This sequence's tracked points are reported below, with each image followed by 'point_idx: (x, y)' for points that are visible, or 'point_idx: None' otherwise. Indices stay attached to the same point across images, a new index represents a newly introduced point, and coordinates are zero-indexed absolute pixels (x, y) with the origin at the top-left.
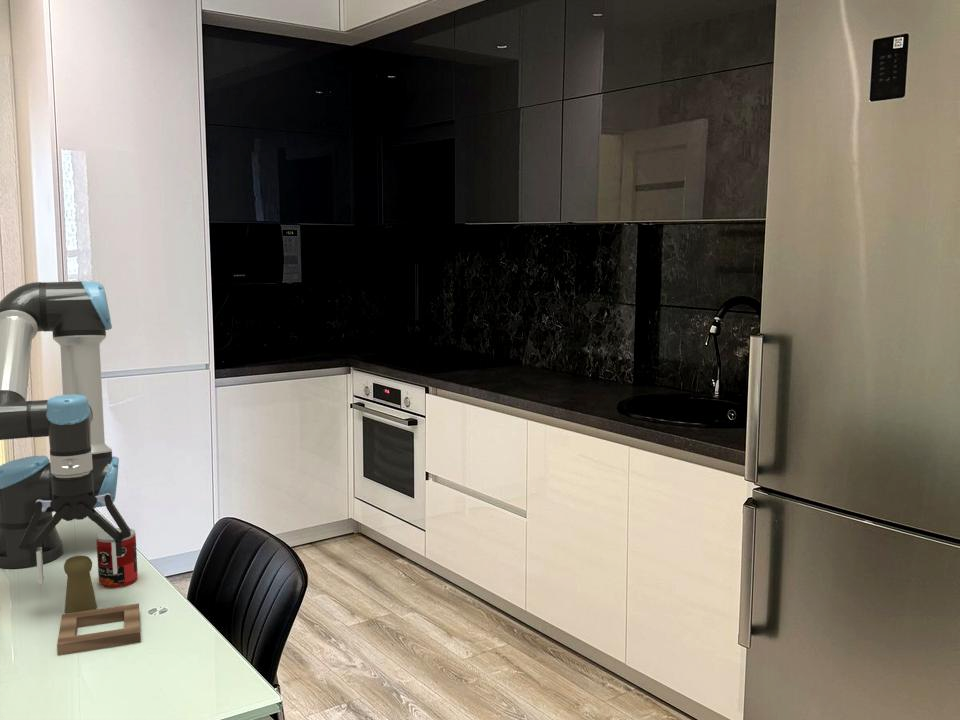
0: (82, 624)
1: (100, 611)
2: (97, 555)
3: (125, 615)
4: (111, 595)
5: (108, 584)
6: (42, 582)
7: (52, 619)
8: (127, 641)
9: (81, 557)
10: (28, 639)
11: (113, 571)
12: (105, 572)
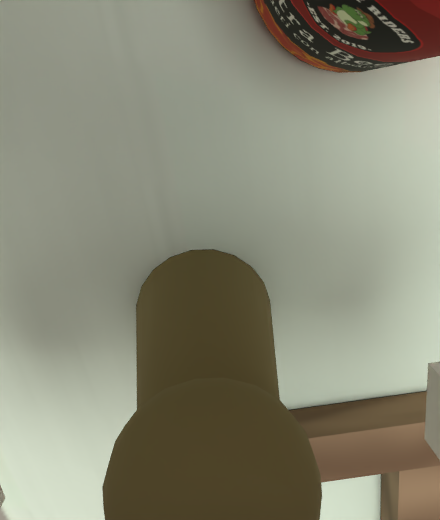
0: None
1: None
2: None
3: (402, 507)
4: (323, 173)
5: (310, 64)
6: (2, 501)
7: (106, 381)
8: None
9: None
10: (72, 514)
11: (437, 451)
12: (318, 47)
